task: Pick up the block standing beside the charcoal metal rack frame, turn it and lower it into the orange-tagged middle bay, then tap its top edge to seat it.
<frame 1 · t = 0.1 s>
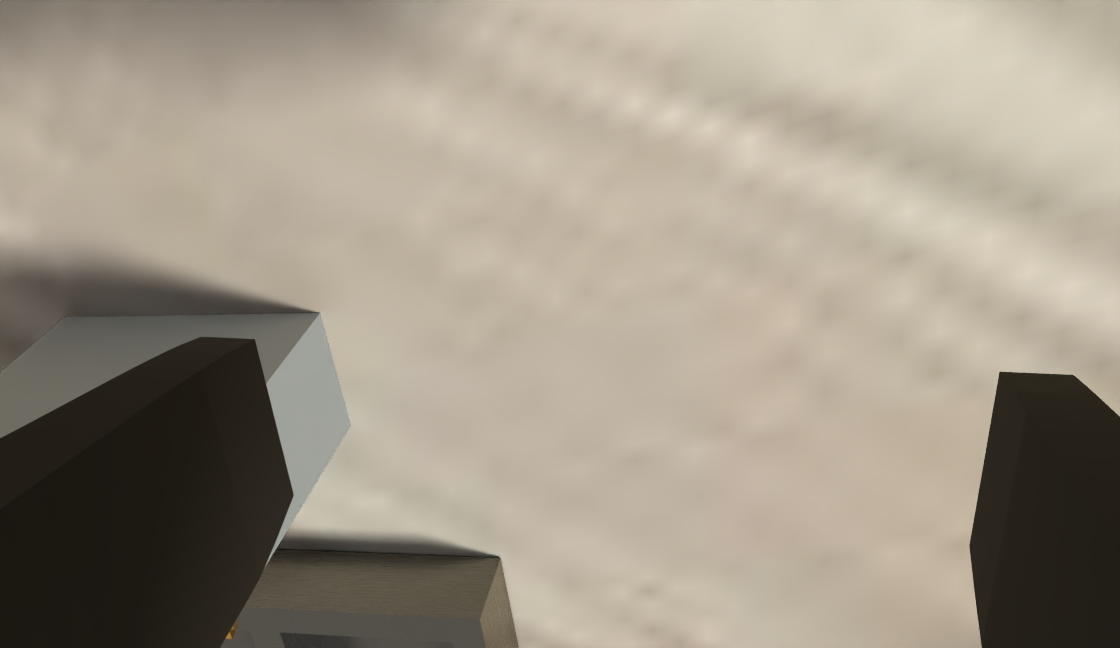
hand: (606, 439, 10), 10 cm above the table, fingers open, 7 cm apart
block: (208, 370, 24), on the table
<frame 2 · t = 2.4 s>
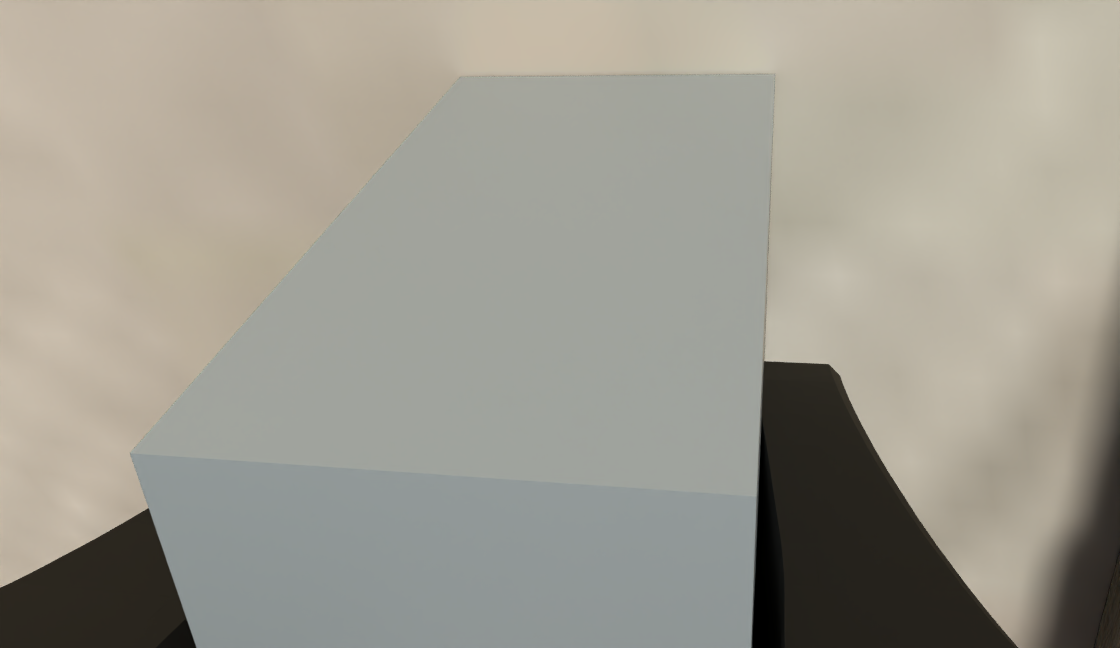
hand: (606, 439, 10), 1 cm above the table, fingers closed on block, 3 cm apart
block: (624, 361, 11), on the table, touching gripper
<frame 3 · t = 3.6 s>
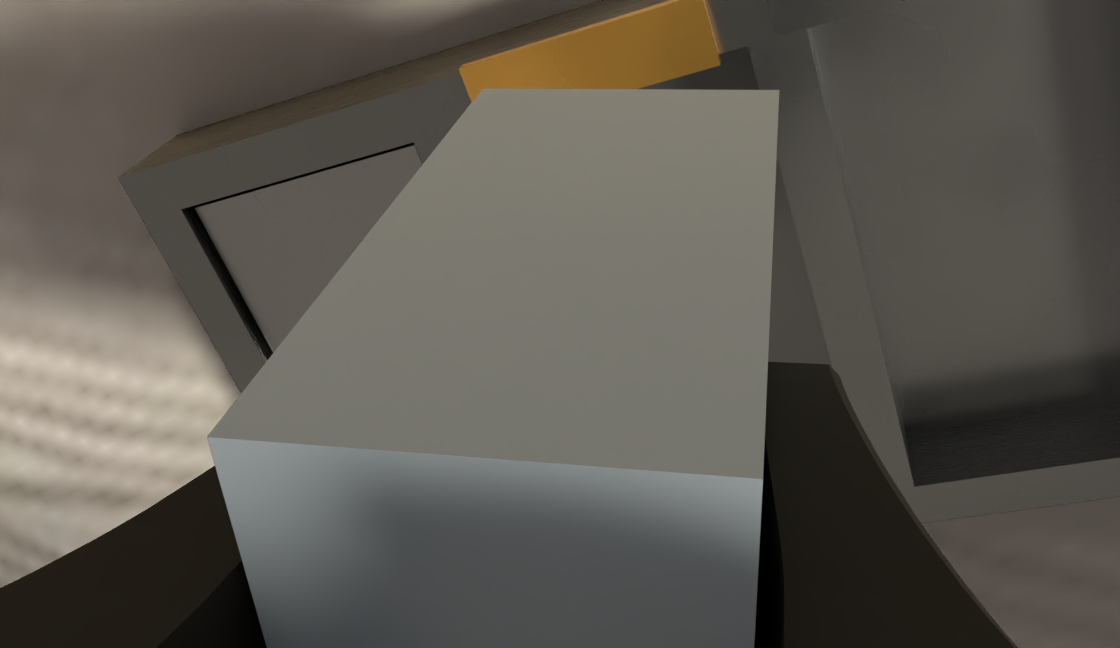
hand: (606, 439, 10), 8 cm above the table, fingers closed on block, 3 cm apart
rack: (685, 265, 18), on the table
block: (633, 357, 12), point 6 cm above the table, touching gripper
when the fingers open (3 cm above the table, at t = 5.2 s): block stays where it is, resting on rack.
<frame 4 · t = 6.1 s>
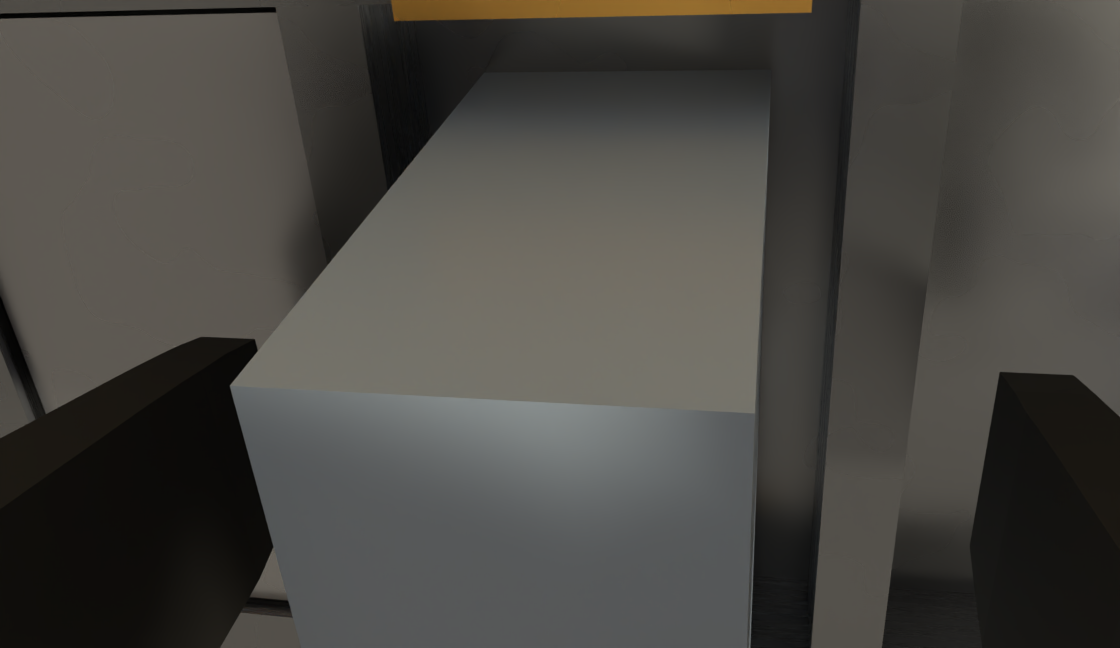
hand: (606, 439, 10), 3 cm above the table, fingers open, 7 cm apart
rack: (639, 293, 13), on the table
block: (633, 335, 12), resting on rack
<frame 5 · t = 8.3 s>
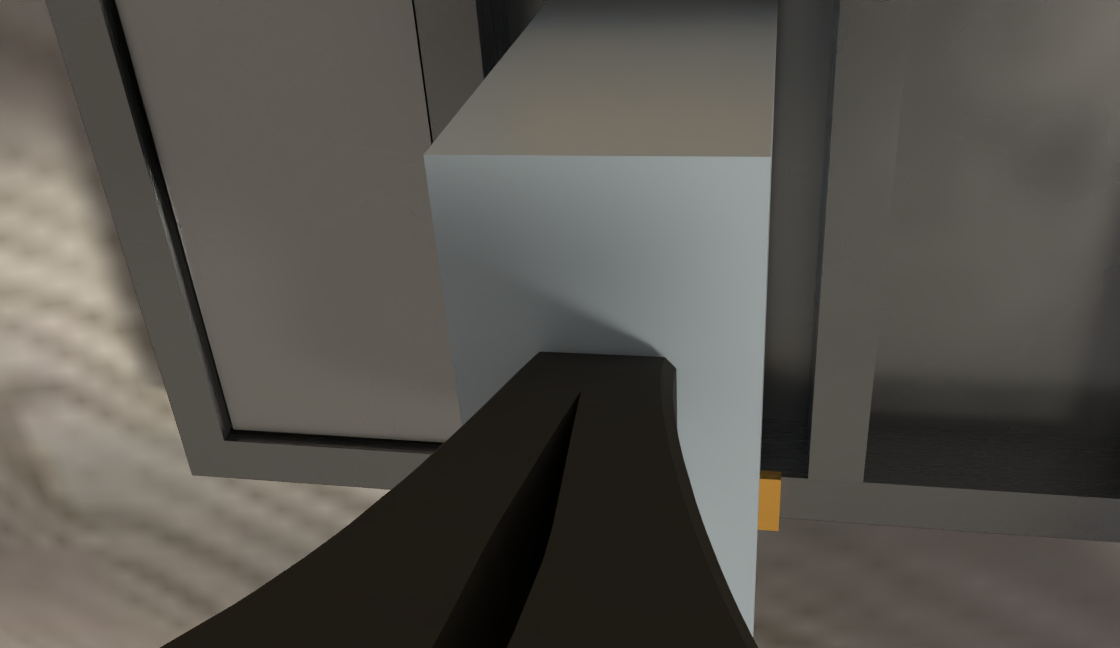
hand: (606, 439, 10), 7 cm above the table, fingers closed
rack: (671, 178, 16), on the table
block: (667, 209, 16), resting on rack
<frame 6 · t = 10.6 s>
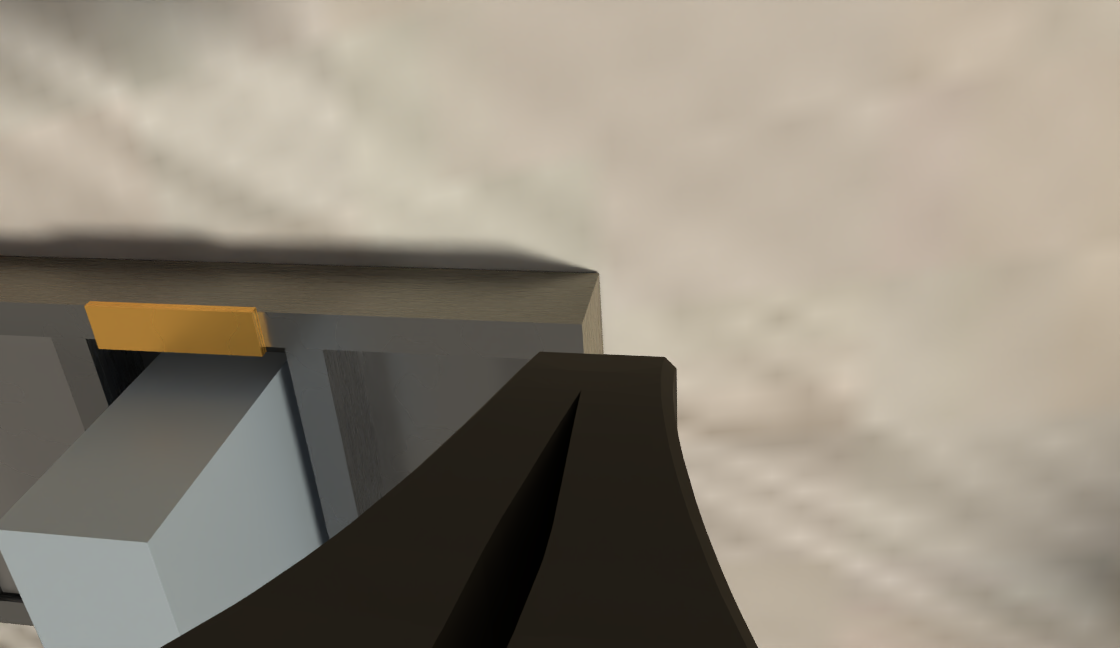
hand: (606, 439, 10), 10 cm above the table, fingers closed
rack: (266, 443, 25), on the table
block: (259, 466, 24), resting on rack
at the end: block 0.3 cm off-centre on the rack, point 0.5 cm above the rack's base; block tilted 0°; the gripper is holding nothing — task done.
